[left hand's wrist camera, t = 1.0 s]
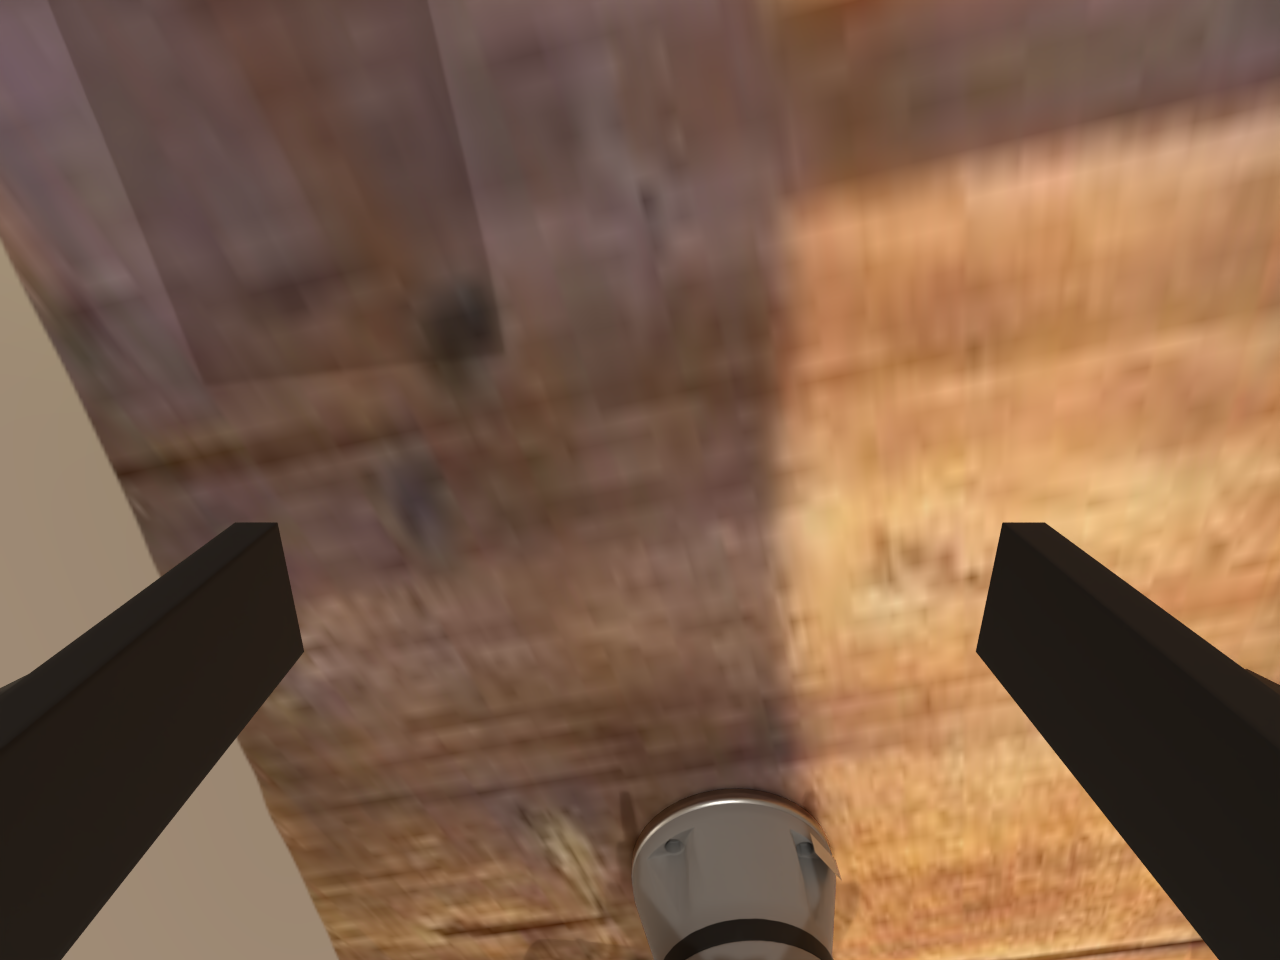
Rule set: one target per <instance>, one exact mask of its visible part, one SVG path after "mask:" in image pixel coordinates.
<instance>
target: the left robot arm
mask: <svg viewBox="0 0 1280 960" xmlns="http://www.w3.org/2000/svg"><path fill="white" fill-rule="evenodd" d="M303 652H304V649H303V644H302V639H301V634H300V629H299V625H298V620H297V615H296V610H295V605H294V600H293V595H292V591H291V586H290V581H289V576H288V571H287V566H286V562H285V557H284V552H283V547H282V542H281V537H280V533H279V528H278V523H234V524H233V525H231V526H230V527H229V528H227V529H226V530H224V531H223V532H222V533H220V534H219V535H218V536H216V537H215V538H214V539H212V540H211V541H209V542H208V543H207V544H205V545H204V546H203V547H201V548H200V549H199V550H197V551H196V552H194V553H193V554H192V555H190V556H189V557H188V558H186V559H185V560H184V561H182V562H181V563H179V564H178V565H177V566H175V567H174V568H173V569H171V570H170V571H169V572H167V573H166V574H164V575H163V576H162V577H160V578H159V579H158V580H156V581H155V582H154V583H152V584H151V585H150V586H148V587H147V588H145V589H144V590H143V591H141V592H140V593H139V594H137V595H136V596H134V597H133V598H132V599H130V600H129V601H128V602H126V603H125V604H124V605H122V606H121V607H120V608H118V609H117V610H115V611H114V612H113V613H111V614H110V615H109V616H107V617H106V618H105V619H103V620H102V621H100V622H99V623H98V624H96V625H95V626H94V627H92V628H91V629H90V630H88V631H87V632H86V633H84V634H83V635H81V636H80V637H79V638H77V639H76V640H75V641H73V642H72V643H70V644H69V645H68V646H66V647H65V648H64V649H62V650H61V651H60V652H58V653H57V654H55V655H54V656H53V657H51V658H50V659H49V660H47V661H46V662H45V663H43V664H42V665H41V666H39V667H38V668H36V669H35V670H34V671H32V672H31V673H30V674H28V675H26V676H24V677H22V678H20V679H18V680H16V681H14V682H12V683H10V684H8V685H6V686H4V687H2V688H0V960H61V959H62V958H63V957H64V955H65V954H66V953H67V952H68V950H69V949H70V948H71V947H72V945H73V944H74V943H75V941H76V940H77V939H78V938H79V936H80V935H81V934H82V933H83V931H84V930H85V929H86V928H87V926H88V925H89V924H90V922H91V921H92V920H93V919H94V917H95V916H96V915H97V914H98V912H99V911H100V910H101V909H102V907H103V906H104V905H105V903H106V902H107V901H108V900H109V898H110V897H111V896H112V895H113V893H114V892H115V891H116V890H117V888H118V887H119V886H120V884H121V883H122V882H123V881H124V879H125V878H126V877H127V876H128V874H129V873H130V872H131V871H132V869H133V868H134V867H135V865H136V864H137V863H138V862H139V860H140V859H141V858H142V857H143V855H144V854H145V853H146V851H147V850H148V849H149V848H150V846H151V845H152V844H153V843H154V841H155V840H156V839H157V837H158V836H159V835H160V834H161V832H162V831H163V830H164V829H165V827H166V826H167V825H168V824H169V822H170V821H171V820H172V819H173V817H174V816H175V815H176V813H177V812H178V811H179V810H180V808H181V807H182V806H183V805H184V803H185V802H186V801H187V799H188V798H189V797H190V796H191V794H192V793H193V792H194V791H195V789H196V788H197V787H198V786H199V784H200V783H201V782H202V780H203V779H204V778H205V777H206V775H207V774H208V773H209V772H210V770H211V769H212V768H213V766H214V765H215V764H216V763H217V761H218V760H219V759H220V758H221V756H222V755H223V754H224V753H225V751H226V750H227V749H228V747H229V746H230V745H231V744H232V742H233V741H234V740H235V739H236V737H237V736H238V735H239V734H240V732H241V731H242V730H243V728H244V727H245V726H246V725H247V723H248V722H249V721H250V720H251V718H252V717H253V716H254V714H255V713H256V712H257V711H258V709H259V708H260V707H261V706H262V704H263V703H264V702H265V701H266V699H267V698H268V697H269V695H270V694H271V693H272V692H273V690H274V689H275V688H276V687H277V685H278V684H279V683H280V682H281V680H282V679H283V678H284V676H285V675H286V674H287V673H288V671H289V670H290V669H291V668H292V666H293V665H294V664H295V662H296V661H297V660H298V659H299V657H300V656H301V655H302V654H303ZM976 652H977V654H978V655H979V656H980V657H981V659H982V660H983V661H984V662H985V664H986V665H987V666H988V668H989V669H990V670H991V671H992V673H993V674H994V675H995V676H996V678H997V679H998V680H999V682H1000V683H1001V684H1002V685H1003V687H1004V688H1005V689H1006V690H1007V692H1008V693H1009V694H1010V695H1011V697H1012V698H1013V699H1014V701H1015V702H1016V703H1017V704H1018V706H1019V707H1020V708H1021V709H1022V711H1023V712H1024V713H1025V714H1026V716H1027V717H1028V718H1029V720H1030V721H1031V722H1032V723H1033V725H1034V726H1035V727H1036V728H1037V730H1038V731H1039V732H1040V734H1041V735H1042V736H1043V737H1044V739H1045V740H1046V741H1047V742H1048V744H1049V745H1050V746H1051V747H1052V749H1053V750H1054V751H1055V753H1056V754H1057V755H1058V756H1059V758H1060V759H1061V760H1062V761H1063V763H1064V764H1065V765H1066V766H1067V768H1068V769H1069V770H1070V772H1071V773H1072V774H1073V775H1074V777H1075V778H1076V779H1077V780H1078V782H1079V783H1080V784H1081V786H1082V787H1083V788H1084V789H1085V791H1086V792H1087V793H1088V794H1089V796H1090V797H1091V798H1092V799H1093V801H1094V802H1095V803H1096V805H1097V806H1098V807H1099V808H1100V810H1101V811H1102V812H1103V813H1104V815H1105V816H1106V817H1107V819H1108V820H1109V821H1110V822H1111V824H1112V825H1113V826H1114V827H1115V829H1116V830H1117V831H1118V832H1119V834H1120V835H1121V836H1122V838H1123V839H1124V840H1125V841H1126V843H1127V844H1128V845H1129V846H1130V848H1131V849H1132V850H1133V851H1134V853H1135V854H1136V855H1137V857H1138V858H1139V859H1140V860H1141V862H1142V863H1143V864H1144V865H1145V867H1146V868H1147V869H1148V871H1149V872H1150V873H1151V874H1152V876H1153V877H1154V878H1155V879H1156V881H1157V882H1158V883H1159V884H1160V886H1161V887H1162V888H1163V890H1164V891H1165V892H1166V893H1167V895H1168V896H1169V897H1170V898H1171V900H1172V901H1173V902H1174V903H1175V905H1176V906H1177V907H1178V909H1179V910H1180V911H1181V912H1182V914H1183V915H1184V916H1185V917H1186V919H1187V920H1188V921H1189V923H1190V924H1191V925H1192V926H1193V928H1194V929H1195V930H1196V931H1197V933H1198V934H1199V935H1200V936H1201V938H1202V939H1203V940H1204V942H1205V943H1206V944H1207V945H1208V947H1209V948H1210V949H1211V950H1212V952H1213V953H1214V954H1215V955H1216V957H1217V958H1218V959H1219V960H1280V685H1278V684H1276V683H1274V682H1272V681H1270V680H1268V679H1266V678H1264V677H1262V676H1260V675H1258V674H1256V673H1254V672H1252V671H1250V670H1248V669H1244V668H1242V667H1241V666H1240V665H1238V664H1237V663H1235V662H1234V661H1233V660H1231V659H1230V658H1229V657H1227V656H1226V655H1225V654H1223V653H1222V652H1220V651H1219V650H1218V649H1216V648H1215V647H1214V646H1212V645H1211V644H1210V643H1208V642H1207V641H1205V640H1204V639H1203V638H1201V637H1200V636H1199V635H1197V634H1196V633H1195V632H1193V631H1192V630H1190V629H1189V628H1188V627H1186V626H1185V625H1184V624H1182V623H1181V622H1180V621H1178V620H1177V619H1175V618H1174V617H1173V616H1171V615H1170V614H1169V613H1167V612H1166V611H1165V610H1163V609H1162V608H1160V607H1159V606H1158V605H1156V604H1155V603H1154V602H1152V601H1151V600H1150V599H1148V598H1147V597H1146V596H1144V595H1143V594H1141V593H1140V592H1139V591H1137V590H1136V589H1135V588H1133V587H1132V586H1131V585H1129V584H1128V583H1126V582H1125V581H1124V580H1122V579H1121V578H1120V577H1118V576H1117V575H1116V574H1114V573H1113V572H1111V571H1110V570H1109V569H1107V568H1106V567H1105V566H1103V565H1102V564H1101V563H1099V562H1098V561H1096V560H1095V559H1094V558H1092V557H1091V556H1090V555H1088V554H1087V553H1086V552H1084V551H1083V550H1081V549H1080V548H1079V547H1077V546H1076V545H1075V544H1073V543H1072V542H1071V541H1069V540H1068V539H1066V538H1065V537H1064V536H1062V535H1061V534H1060V533H1058V532H1057V531H1056V530H1054V529H1053V528H1051V527H1050V526H1049V525H1047V524H1046V523H1002V528H1001V533H1000V537H999V542H998V547H997V552H996V557H995V562H994V566H993V571H992V576H991V581H990V586H989V591H988V595H987V600H986V605H985V610H984V615H983V620H982V625H981V629H980V634H979V639H978V644H977V649H976ZM835 874H836V875H837V876H838V877H839V878H840V879H841V877H840V874H839V870H838V867H837V863H836V860H835V859H834V858H833V857H832V853H831V850H830V847H829V843H828V840H827V837H826V835H825V833H824V831H823V829H822V828H821V826H820V825H819V823H818V822H817V821H816V820H815V819H814V818H813V817H812V816H811V815H810V814H809V813H808V812H807V811H806V810H804V809H803V808H802V807H800V806H798V805H797V804H795V803H793V802H791V801H789V800H787V799H785V798H783V797H780V796H778V795H774V794H771V793H768V792H763V791H758V790H751V789H721V790H713V791H708V792H704V793H699V794H696V795H693V796H690V797H687V798H685V799H683V800H680V801H678V802H676V803H674V804H672V805H671V806H669V807H667V808H666V809H664V810H663V811H662V812H660V813H659V814H658V815H656V816H655V817H654V818H653V819H652V820H651V821H650V822H649V823H648V825H647V826H646V827H645V828H644V830H643V831H642V832H641V834H640V836H639V838H638V840H637V842H636V844H635V847H634V851H633V856H632V886H633V893H634V900H635V904H636V907H637V910H638V913H639V916H640V919H641V922H642V925H643V928H644V931H645V934H646V937H647V940H648V943H649V946H650V949H651V952H652V955H653V958H654V960H833V956H832V946H833V928H834V910H835V892H836V876H835Z"/></svg>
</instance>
